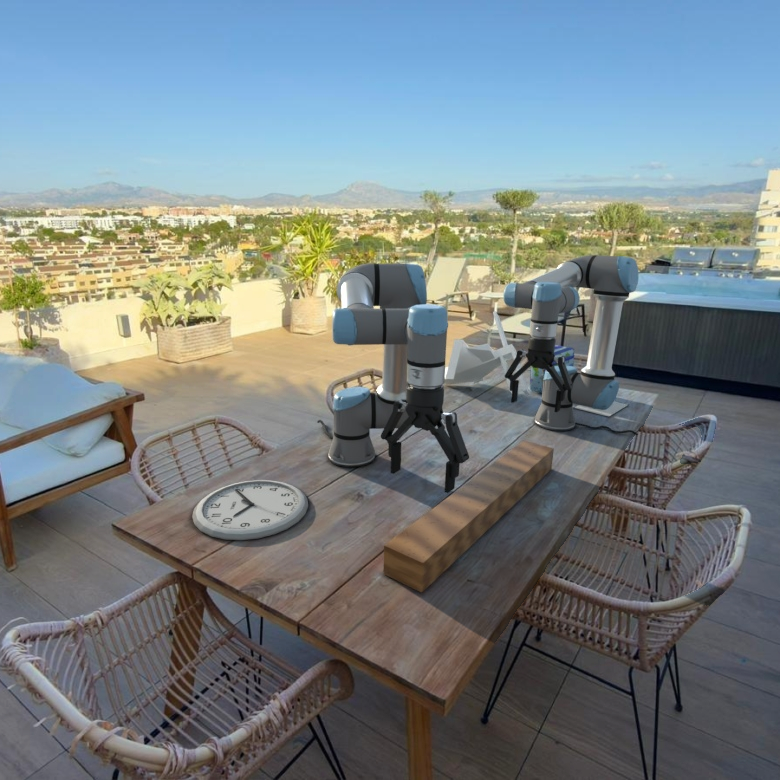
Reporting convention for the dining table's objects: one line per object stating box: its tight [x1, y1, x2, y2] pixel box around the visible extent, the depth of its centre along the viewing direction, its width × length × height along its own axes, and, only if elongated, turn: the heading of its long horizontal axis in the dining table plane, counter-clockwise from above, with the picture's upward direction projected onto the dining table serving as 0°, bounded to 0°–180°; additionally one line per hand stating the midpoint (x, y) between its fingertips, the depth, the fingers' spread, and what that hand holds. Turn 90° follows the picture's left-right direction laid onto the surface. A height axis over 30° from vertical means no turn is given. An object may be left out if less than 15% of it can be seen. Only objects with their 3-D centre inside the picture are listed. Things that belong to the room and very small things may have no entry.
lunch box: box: [529, 344, 575, 394], centre depth 245 cm, size 26×11×21 cm, turn 134°
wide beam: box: [383, 440, 555, 594], centre depth 140 cm, size 75×10×7 cm, turn 143°
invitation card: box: [573, 401, 629, 418], centre depth 226 cm, size 21×1×15 cm
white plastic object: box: [443, 310, 531, 397], centre depth 245 cm, size 37×45×31 cm
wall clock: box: [191, 479, 309, 541], centre depth 140 cm, size 30×2×30 cm
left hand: (421, 480), depth 110 cm, fingers open, 13 cm apart
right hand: (535, 406), depth 158 cm, fingers open, 13 cm apart
